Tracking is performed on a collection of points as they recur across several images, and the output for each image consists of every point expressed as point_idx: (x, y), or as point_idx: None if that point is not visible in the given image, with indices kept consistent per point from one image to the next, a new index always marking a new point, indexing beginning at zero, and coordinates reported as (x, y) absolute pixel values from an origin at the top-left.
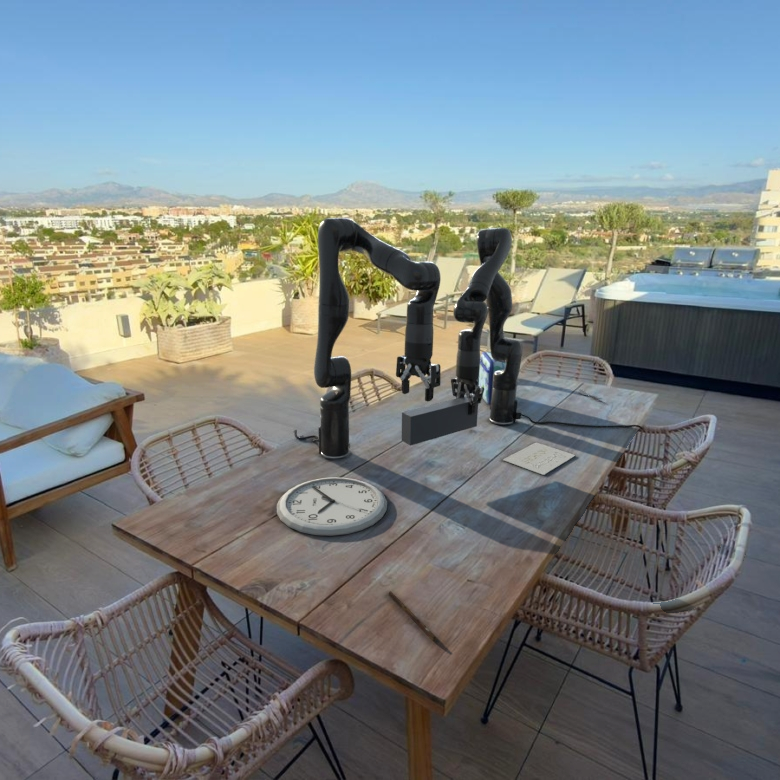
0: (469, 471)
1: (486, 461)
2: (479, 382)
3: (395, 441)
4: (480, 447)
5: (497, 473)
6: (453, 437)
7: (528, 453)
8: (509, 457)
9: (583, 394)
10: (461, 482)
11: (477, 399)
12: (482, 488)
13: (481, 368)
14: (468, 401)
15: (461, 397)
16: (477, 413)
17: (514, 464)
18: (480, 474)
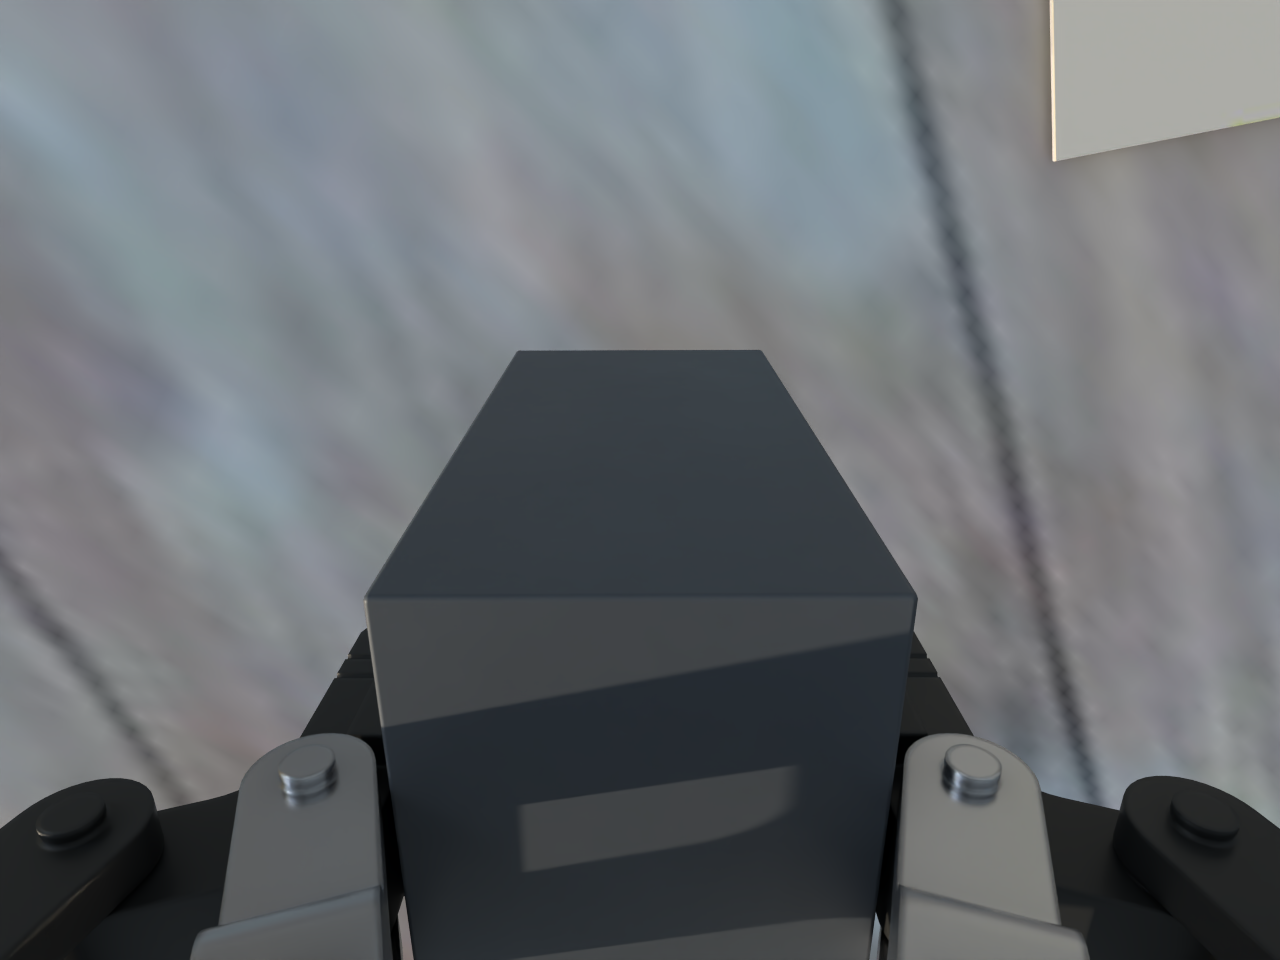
0: (978, 612)
1: (941, 329)
2: None
3: (95, 752)
4: (633, 102)
5: (1187, 433)
6: (221, 180)
7: None
8: (1079, 33)
9: None
10: (1065, 781)
11: (897, 624)
12: (1248, 721)
13: None
14: (838, 951)
15: (413, 897)
16: (805, 422)
17: (1220, 128)
18: (1084, 574)
